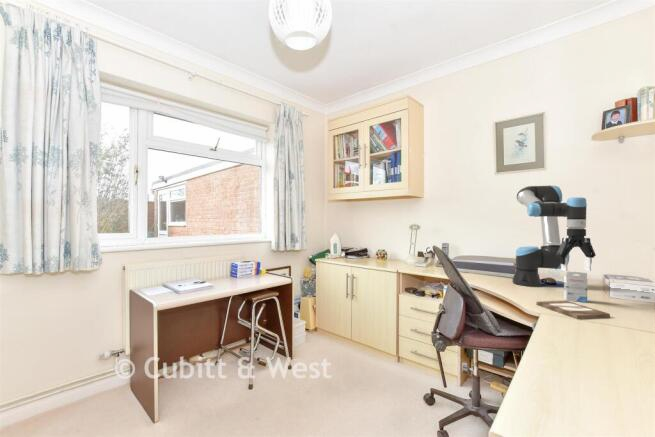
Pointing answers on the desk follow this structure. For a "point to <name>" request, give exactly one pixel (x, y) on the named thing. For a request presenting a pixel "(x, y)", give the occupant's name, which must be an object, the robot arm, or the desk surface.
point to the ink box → (575, 287)
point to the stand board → (573, 309)
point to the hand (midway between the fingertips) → (575, 270)
